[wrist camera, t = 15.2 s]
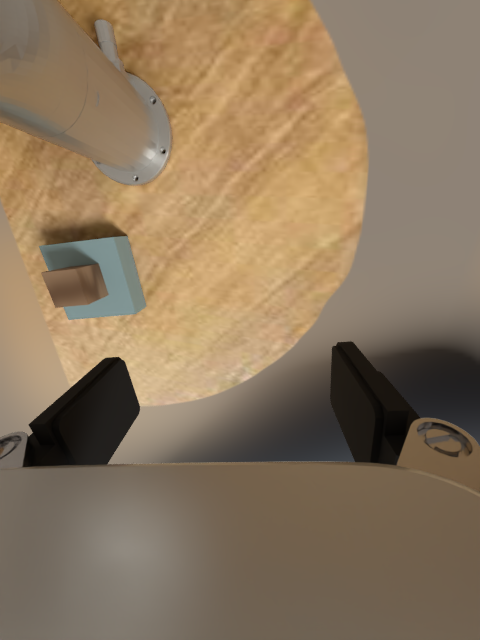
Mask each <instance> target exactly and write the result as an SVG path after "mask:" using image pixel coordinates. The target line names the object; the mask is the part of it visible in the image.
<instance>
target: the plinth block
mask: <svg viewBox="0 0 480 640" xmlns="http://www.w3.org/2000/svg"><path fill="white" fill-rule="evenodd" d="M39 247H40V250H41V252H42V255H43V257H44V260H45V262H46V265H47V267H48V270H49V271H51V270H56V269H60V268H65V267H71V266H80V265H89V264H98V263H99V266H100V269H101V272H102V275H103V278H104V282H105V285H106V288H107V291H108V294H109V295H108V296H106V297H104V298H101V299H99V300H97V301H95V302H93V303H91V304H89V305H80V306H68V307H64V309H65V312H66V314H67V317H68V319H69V320H72V319H84V318H95V317H107V316H119V315H130V314H136V313H138V312H139V311H141V310H142V309H143V308H145V307H146V303H145V299H144V296H143V292H142V288H141V285H140V281H139V277H138V273H137V270H136V266H135V262H134V258H133V255H132V251H131V247H130V244H129V240H128V236H120V237H110V238H101V239H93V240H85V241H77V242H69V243H61V244H52V245H44V246H39Z"/></svg>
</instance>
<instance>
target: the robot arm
mask: <svg viewBox="0 0 480 640" xmlns="http://www.w3.org/2000/svg"><path fill="white" fill-rule="evenodd" d="M94 26H95V30H96V34H97V39H98V43H99V46H100V48H101V50H100V48H99V47H98V46H97V45H96V44H95V43H94V42H93V40H92V39H91V38H90V37H89V36H88V35H87V34H86V33H85V31H84V30H83V29H82V28H81V27H80V26H79V25H78V24H77V22H76V21H75V20H74V19H73V18H72V17H71V16H70V14H69V13H68V12H67V11H66V10H65V9H64V8H63V7H62V5H61V4H60V3H59V2H58V1H57V0H0V122H1V123H4V124H6V125H9V126H11V127H14V128H16V129H19V130H21V131H24V132H26V133H28V134H31V135H33V136H36V137H38V138H41V139H43V140H46V141H48V142H50V143H53V144H55V145H58V146H60V147H63V148H65V149H68V150H70V151H73V152H75V153H78V154H80V155H82V156H85V157H87V158H90V159H91V160H92V161H93V162H94V164H95V165H96V166H97V168H99V169H100V170H101V171H102V172H103V173H104V174H105V175H106V176H108V177H109V178H111V179H112V180H115V181H117V182H119V183H122V184H125V185H132V186H138V185H144V184H147V183H149V182H151V181H153V180H154V179H156V178H157V177H158V176H159V175H160V174H161V173H162V171H163V170H164V168H165V167H166V165H167V162H168V160H169V158H170V153H171V149H172V130H171V124H170V120H169V116H168V114H167V112H166V109H165V107H164V105H163V103H162V102H161V100H160V99H159V97H158V96H157V94H156V93H155V92H154V91H153V89H152V88H151V87H150V86H149V85H148V84H147V83H146V82H144V81H143V80H141V79H140V78H138V77H137V76H135V75H132V74H130V73H127V72H125V70H124V65H123V62H122V61H121V60H120V59H119V58H118V53H117V45H116V41H115V36H114V32H113V27H112V25H111V24H110V23H109V22H107V21H105V20H97V21H96V22H95V24H94ZM155 101H156V103H155V104H154V102H155ZM164 151H166V152H165V154H164V153H163V152H164ZM137 178H138V181H137ZM330 399H331V405H332V408H333V410H334V412H335V415H336V417H337V420H338V422H339V424H340V427H341V429H342V432H343V434H344V436H345V439H346V441H347V444H348V446H349V448H350V451H351V453H352V455H353V458H354V460H355V462H328V461H327V462H223V463H222V462H218V463H217V462H216V463H215V462H214V463H163V464H162V463H158V464H113V465H112V464H109V465H107V464H108V462H109V460H110V459H111V457H112V455H113V454H114V452H115V451H116V449H117V448H118V446H119V444H120V443H121V441H122V440H123V438H124V436H125V435H126V433H127V432H128V430H129V429H130V427H131V425H132V424H133V422H134V420H135V419H136V417H137V416H138V414H139V411H140V406H139V403H138V400H137V397H136V394H135V391H134V388H133V385H132V382H131V379H130V376H129V373H128V370H127V367H126V364H125V361H124V360H121V358H119V357H112V358H105V359H103V360H102V361H101V362H100V363H99V364H98V365H96V366H95V367H94V368H93V369H92V370H91V371H90V372H88V373H87V374H86V375H85V376H84V377H83V378H82V379H80V380H79V381H78V382H77V383H76V384H75V385H74V386H72V387H71V388H70V389H69V390H68V391H67V392H65V393H64V394H63V395H62V396H61V397H60V398H59V399H57V400H56V401H55V402H54V403H53V404H52V405H51V406H49V407H48V408H47V409H46V410H45V411H44V412H42V413H41V414H40V415H39V416H38V417H37V418H36V419H34V420H33V421H32V422H31V423H30V424H29V426H30V428H31V430H32V432H33V433H32V434H31V435H30V436H29V437H28V435H27V434H26V433H25V432H15V433H11V434H8V435H5V436H2V437H0V640H480V446H479V445H478V443H477V442H476V440H475V439H474V438H473V437H471V436H470V435H469V434H468V433H467V432H466V431H464V430H462V429H461V428H459V427H457V426H456V425H453V424H451V423H449V422H446V421H443V420H439V419H434V418H420V417H419V416H418V415H417V413H416V412H415V411H414V410H413V409H412V407H411V406H410V405H409V404H408V403H407V402H406V400H405V399H404V398H403V397H402V396H401V395H400V394H399V392H398V391H397V390H396V389H395V388H394V387H393V385H392V384H391V383H390V382H389V381H388V379H387V378H386V377H385V376H384V375H383V374H382V373H381V372H379V371H376V369H375V368H374V367H373V366H372V365H371V363H370V362H369V361H368V360H367V359H366V357H365V356H364V355H363V354H362V353H361V351H360V350H359V349H358V348H357V346H356V345H355V344H354V343H353V342H338V343H337V345H336V346H333V347H332V365H331V394H330Z"/></svg>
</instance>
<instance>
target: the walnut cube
mask: <svg viewBox="0 0 480 640" xmlns="http://www.w3.org/2000/svg"><path fill="white" fill-rule="evenodd" d="M41 274H42V276H43V278H44V281H45V283H46V286H47V288H48V290H49V293H50V295H51V298H52V300H53V302H54V305H55V307H56V308H57V307H68V306H80V305H89V304H91V303H93V302H95V301H97V300H99V299H101V298H104V297H106V296H108V295H109V294H108V291H107V288H106V285H105V282H104V278H103V275H102V272H101V269H100V266H99V263H98V264H89V265H80V266H71V267H65V268H60V269H56V270H51V271H46V272H42V273H41Z"/></svg>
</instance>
